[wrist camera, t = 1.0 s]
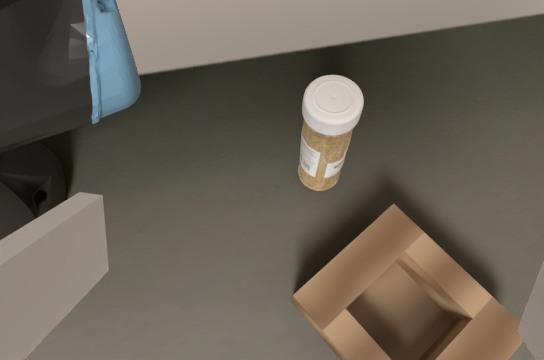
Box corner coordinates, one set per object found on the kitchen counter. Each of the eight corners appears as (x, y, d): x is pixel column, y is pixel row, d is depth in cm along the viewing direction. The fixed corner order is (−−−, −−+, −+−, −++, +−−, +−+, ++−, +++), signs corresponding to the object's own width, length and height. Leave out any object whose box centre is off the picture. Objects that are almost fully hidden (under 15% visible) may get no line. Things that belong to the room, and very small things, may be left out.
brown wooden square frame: (291, 301, 35) (292, 295, 31) (380, 220, 38) (393, 203, 34) (406, 437, 31) (427, 453, 26) (497, 334, 34) (530, 332, 29)
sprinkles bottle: (342, 190, 40) (369, 121, 27) (298, 193, 40) (306, 124, 27) (337, 152, 41) (360, 70, 29) (295, 154, 42) (300, 73, 29)
